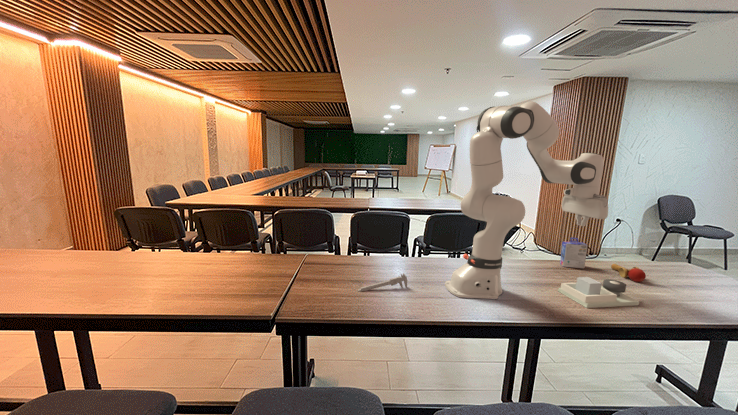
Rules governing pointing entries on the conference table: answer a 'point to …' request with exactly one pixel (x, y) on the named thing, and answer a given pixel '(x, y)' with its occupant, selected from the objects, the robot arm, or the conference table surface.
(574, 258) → the ink cartridge box
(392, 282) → the caliper
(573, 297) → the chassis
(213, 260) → the conference table surface
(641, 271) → the kendama
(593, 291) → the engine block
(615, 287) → the wheel
